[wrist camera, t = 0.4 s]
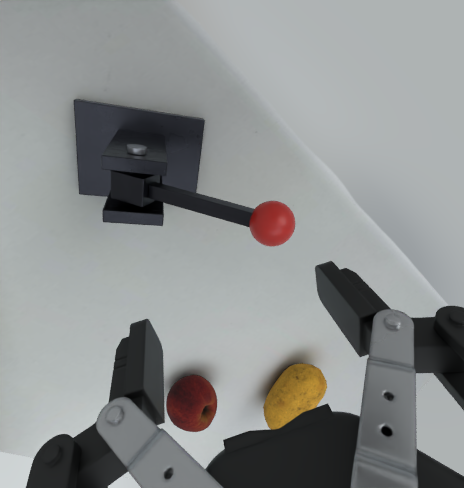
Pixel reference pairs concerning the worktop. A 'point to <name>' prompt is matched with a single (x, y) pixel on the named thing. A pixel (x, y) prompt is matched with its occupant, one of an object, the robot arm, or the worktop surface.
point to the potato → (294, 394)
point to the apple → (192, 403)
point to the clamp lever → (206, 206)
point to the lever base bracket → (135, 154)
